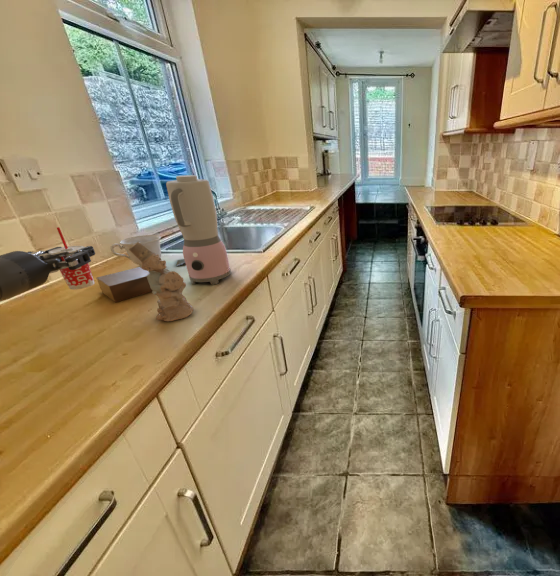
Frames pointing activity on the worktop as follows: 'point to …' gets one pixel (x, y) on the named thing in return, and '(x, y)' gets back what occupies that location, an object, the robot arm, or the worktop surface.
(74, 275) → the beverage cup
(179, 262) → the build plate
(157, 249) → the teacup
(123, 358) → the worktop surface
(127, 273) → the walnut block
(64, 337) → the worktop surface
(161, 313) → the figurine
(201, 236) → the blender
